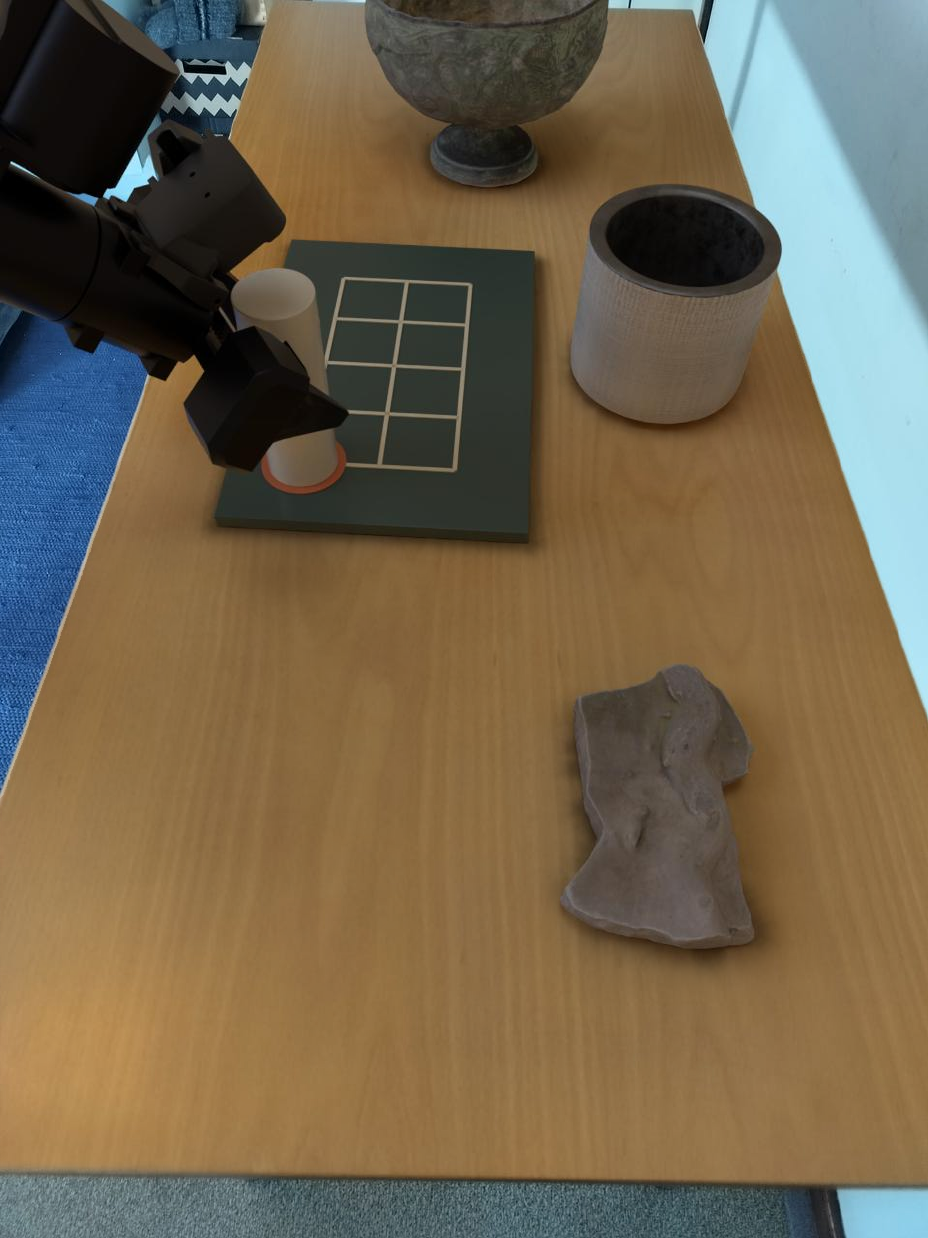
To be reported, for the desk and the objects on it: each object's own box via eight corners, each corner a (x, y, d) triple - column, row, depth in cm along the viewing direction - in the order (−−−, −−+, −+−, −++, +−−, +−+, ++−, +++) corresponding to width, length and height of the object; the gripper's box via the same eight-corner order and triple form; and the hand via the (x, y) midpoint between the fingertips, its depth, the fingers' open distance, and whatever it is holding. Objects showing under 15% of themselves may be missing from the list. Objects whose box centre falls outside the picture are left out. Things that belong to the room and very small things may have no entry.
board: (216, 526, 59) (213, 514, 58) (292, 249, 76) (290, 237, 75) (527, 543, 58) (529, 531, 58) (534, 261, 75) (535, 248, 75)
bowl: (590, 108, 90) (613, -74, 77) (588, 221, 79) (614, 30, 66) (390, 96, 90) (381, -87, 78) (360, 206, 80) (345, 14, 67)
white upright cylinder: (305, 498, 59) (274, 331, 48) (253, 466, 60) (212, 296, 50) (352, 457, 61) (332, 288, 50) (301, 427, 62) (271, 257, 52)
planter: (760, 425, 65) (812, 289, 56) (586, 438, 64) (610, 302, 55) (711, 313, 72) (750, 176, 63) (554, 323, 71) (571, 185, 62)
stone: (758, 971, 44) (784, 948, 40) (556, 945, 44) (565, 920, 41) (742, 703, 52) (763, 665, 49) (573, 684, 53) (581, 645, 49)
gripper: (231, 216, 35) (472, 355, 48) (88, 22, 45) (321, 181, 57) (95, 435, 40) (348, 511, 52) (-10, 216, 49) (227, 325, 61)
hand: (310, 371), depth 55 cm, fingers open, 9 cm apart
